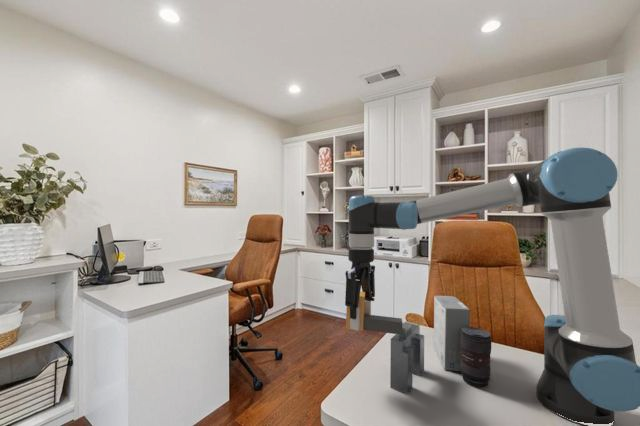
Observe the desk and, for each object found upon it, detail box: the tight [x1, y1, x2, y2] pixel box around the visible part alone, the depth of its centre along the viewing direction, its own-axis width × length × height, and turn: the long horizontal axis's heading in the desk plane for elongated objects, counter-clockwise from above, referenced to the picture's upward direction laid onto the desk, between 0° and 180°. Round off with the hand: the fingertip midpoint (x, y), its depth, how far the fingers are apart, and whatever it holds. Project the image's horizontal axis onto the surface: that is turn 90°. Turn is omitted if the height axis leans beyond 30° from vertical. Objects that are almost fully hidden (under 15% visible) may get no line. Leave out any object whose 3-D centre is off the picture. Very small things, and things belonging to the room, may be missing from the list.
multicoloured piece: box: [345, 291, 404, 335], centre depth 83 cm, size 16×5×10 cm, turn 79°
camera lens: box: [460, 326, 492, 389], centre depth 84 cm, size 8×8×15 cm
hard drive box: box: [433, 295, 471, 372], centre depth 97 cm, size 16×8×20 cm, turn 171°
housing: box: [389, 321, 425, 395], centre depth 85 cm, size 5×15×16 cm, turn 143°
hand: (360, 325), depth 84 cm, fingers closed on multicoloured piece, 6 cm apart
